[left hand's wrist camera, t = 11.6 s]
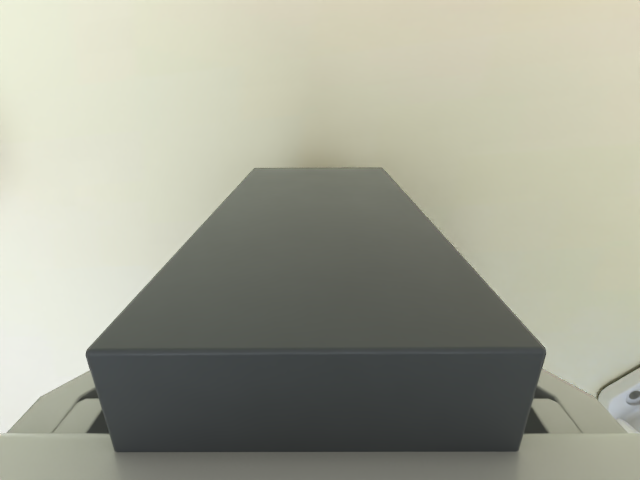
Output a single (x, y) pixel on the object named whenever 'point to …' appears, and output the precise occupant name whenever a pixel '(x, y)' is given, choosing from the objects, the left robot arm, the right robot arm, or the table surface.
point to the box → (316, 332)
